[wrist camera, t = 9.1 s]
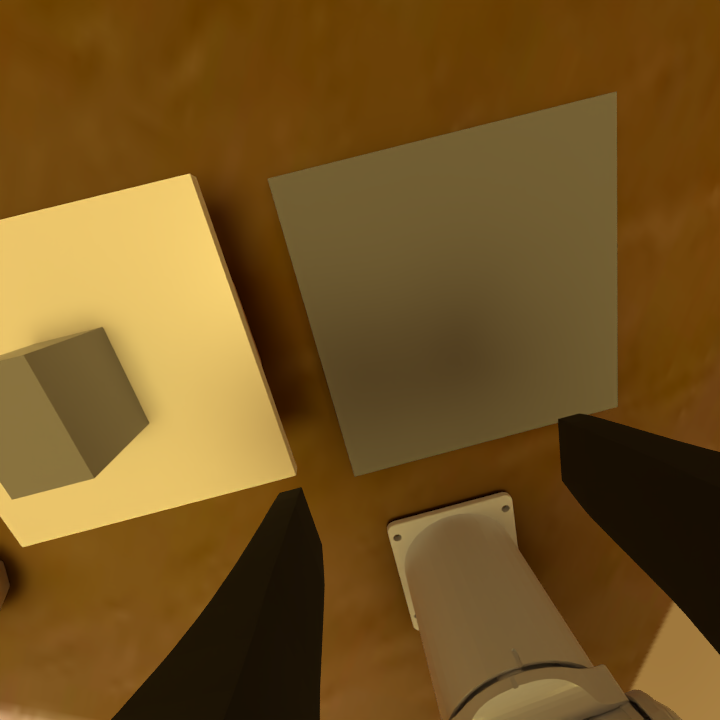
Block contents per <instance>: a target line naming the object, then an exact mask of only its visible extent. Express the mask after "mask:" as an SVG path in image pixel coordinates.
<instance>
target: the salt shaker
mask: <svg viewBox="0 0 720 720" xmlns="http://www.w3.org/2000/svg"><path fill="white" fill-rule="evenodd" d="M9 587H10V583H9V580H8V576H7V573H6V569H5V566H4V562H3V561H1V560H0V610H1V607H2V605H3V602H4V600H5V597H6V595H7V592H8V590H9Z"/></svg>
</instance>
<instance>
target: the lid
mask: <svg viewBox="0 0 720 720" xmlns="http://www.w3.org/2000/svg"><path fill="white" fill-rule="evenodd" d="M296 471H297V466H296V463H295V460H294V457H293V454H292V452H291V449H290V446H289V443H288V440H287V437H286V434H285V431H284V429H283V426H282V423H281V420H280V417H279V414H278V411H277V408H276V405H275V403H274V400H273V397H272V394H271V391H270V388H269V385H268V382H267V380H266V377H265V374H264V371H263V368H262V365H261V362H260V359H259V357H258V354H257V351H256V348H255V345H254V342H253V339H252V336H251V334H250V331H249V328H248V325H247V322H246V319H245V316H244V313H243V311H242V308H241V305H240V302H239V299H238V296H237V293H236V290H235V288H234V285H233V282H232V279H231V276H230V273H229V270H228V267H227V265H226V262H225V259H224V256H223V253H222V250H221V247H220V244H219V241H218V239H217V236H216V233H215V230H214V227H213V224H212V221H211V218H210V216H209V213H208V210H207V207H206V204H205V201H204V198H203V195H202V193H201V190H200V187H199V184H198V181H197V178H196V177H195V176H193V175H191V174H186V175H182V176H178V177H174V178H170V179H166V180H162V181H158V182H153V183H149V184H145V185H141V186H137V187H133V188H129V189H125V190H121V191H117V192H112V193H108V194H104V195H100V196H96V197H92V198H88V199H84V200H80V201H76V202H71V203H67V204H63V205H59V206H55V207H51V208H47V209H43V210H39V211H35V212H30V213H26V214H22V215H18V216H14V217H10V218H6V219H2V220H0V517H1V518H2V519H3V521H4V522H5V524H6V525H7V526H8V528H9V529H10V531H11V532H12V533H13V535H14V536H15V538H16V539H17V541H18V542H19V543H20V545H21V546H22V547H25V546H29V545H33V544H36V543H40V542H44V541H48V540H52V539H55V538H59V537H63V536H67V535H71V534H75V533H78V532H82V531H86V530H90V529H94V528H98V527H101V526H105V525H109V524H113V523H117V522H120V521H124V520H128V519H132V518H136V517H140V516H143V515H147V514H151V513H155V512H159V511H163V510H166V509H170V508H174V507H178V506H182V505H185V504H189V503H193V502H197V501H201V500H205V499H208V498H212V497H216V496H220V495H224V494H227V493H231V492H235V491H239V490H243V489H247V488H250V487H254V486H258V485H262V484H266V483H270V482H273V481H277V480H281V479H285V478H289V477H292V476H296Z"/></svg>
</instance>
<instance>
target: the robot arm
mask: <svg viewBox="0 0 720 720" xmlns="http://www.w3.org/2000/svg"><path fill="white" fill-rule="evenodd" d="M558 427H559V442H560V458H561V473H562V481H563V482H564V484H565V485H566V486H567V488H568V489H569V490H570V492H571V493H572V494H573V496H574V497H575V498H576V500H577V501H578V502H579V503H580V505H581V506H582V507H583V508H584V510H585V511H586V512H587V513H588V514H589V515H590V516H591V518H592V519H593V520H594V521H595V522H596V523H597V524H598V525H599V526H600V527H601V528H602V529H603V530H604V531H605V532H606V533H607V534H608V535H609V536H610V537H611V538H612V539H613V540H614V541H615V542H616V543H617V544H618V545H619V546H620V547H621V548H622V549H623V550H624V551H625V552H626V553H627V554H628V555H629V556H630V557H631V558H632V559H633V560H634V561H635V562H636V563H637V564H638V565H639V566H640V567H641V568H642V569H643V570H644V571H645V572H646V573H647V574H648V575H649V577H650V578H651V579H652V580H653V581H654V582H655V583H656V584H657V585H658V586H659V587H660V588H661V589H662V590H663V591H664V592H665V593H666V594H667V595H668V596H669V597H670V598H671V599H672V600H673V601H674V602H675V603H676V604H677V606H678V607H679V608H680V609H681V610H682V611H683V612H684V613H685V614H686V615H687V617H688V618H689V619H690V620H691V621H692V622H693V624H694V625H695V626H696V627H697V628H698V629H699V631H700V632H701V633H702V634H703V635H704V637H705V638H706V639H707V640H708V641H709V642H710V644H711V645H712V646H713V647H714V648H715V649H716V651H717V652H718V653H719V654H720V452H717V451H713V450H709V449H706V448H702V447H698V446H695V445H691V444H687V443H684V442H680V441H677V440H673V439H670V438H666V437H663V436H659V435H656V434H652V433H649V432H646V431H642V430H639V429H635V428H632V427H629V426H625V425H622V424H619V423H615V422H612V421H608V420H605V419H601V418H597V417H594V416H590V415H585V414H581V413H579V414H575V415H571V416H567V417H564V418H560V419H558ZM505 505H506V506H505ZM503 506H505V507H503ZM502 507H503V508H502ZM387 531H388V535H389V539H390V543H391V546H392V550H393V554H394V557H395V561H396V565H397V568H398V572H399V576H400V579H401V583H402V587H403V590H404V594H405V598H406V601H407V605H408V609H409V612H410V616H411V620H412V623H413V627H414V629H416V630H419V631H420V635H421V639H422V643H423V647H424V651H425V655H426V659H427V663H428V667H429V671H430V675H431V679H432V683H433V687H434V691H435V695H436V699H437V703H438V707H439V712H440V716H441V720H682V719H681V718H680V717H679V716H678V715H677V714H676V713H674V712H673V711H672V710H671V709H669V708H668V707H666V706H665V705H663V704H661V703H659V702H657V701H656V700H654V699H653V698H652V697H650V696H649V695H648V694H646V693H644V692H642V691H641V690H632V691H629V692H626V693H624V692H623V691H622V689H621V688H620V686H619V685H618V683H617V682H616V680H615V679H614V677H613V676H612V674H611V673H610V672H609V670H608V669H607V667H606V666H605V665H603V664H602V665H599V666H595V667H594V666H593V664H592V663H591V661H590V660H589V658H588V657H587V655H586V654H585V652H584V650H583V649H582V647H581V646H580V644H579V643H578V641H577V640H576V638H575V636H574V635H573V633H572V632H571V630H570V629H569V627H568V626H567V624H566V623H565V621H564V619H563V618H562V616H561V615H560V613H559V612H558V610H557V609H556V607H555V605H554V604H553V602H552V601H551V599H550V598H549V596H548V595H547V593H546V591H545V590H544V588H543V587H542V585H541V584H540V582H539V581H538V579H537V577H536V576H535V574H534V573H533V571H532V570H531V568H530V567H529V565H528V563H527V562H526V560H525V559H524V557H523V556H522V554H521V553H520V551H519V549H518V543H517V535H516V527H515V519H514V510H513V502H512V498H511V496H510V495H509V494H508V493H506V492H501V493H497V494H493V495H489V496H486V497H482V498H478V499H474V500H471V501H467V502H463V503H460V504H456V505H452V506H448V507H445V508H441V509H437V510H434V511H430V512H426V513H422V514H419V515H415V516H411V517H408V518H404V519H400V520H396V521H393V522H391V523H389V524H388V526H387ZM395 535H399V536H395ZM324 585H325V584H324V566H323V553H322V544H321V541H320V538H319V535H318V532H317V530H316V527H315V524H314V521H313V518H312V516H311V513H310V510H309V507H308V504H307V502H306V499H305V496H304V493H303V490H302V487H300V488H297V489H293V490H289V491H285V492H282V493H279V495H278V496H277V498H276V500H275V501H274V503H273V504H272V506H271V508H270V509H269V511H268V513H267V514H266V516H265V518H264V519H263V521H262V523H261V524H260V526H259V528H258V529H257V531H256V533H255V534H254V536H253V538H252V539H251V541H250V542H249V544H248V546H247V547H246V549H245V550H244V552H243V554H242V555H241V557H240V558H239V560H238V561H237V563H236V565H235V566H234V568H233V569H232V570H231V572H230V573H229V575H228V576H227V578H226V579H225V581H224V582H223V584H222V585H221V587H220V588H219V589H218V591H217V592H216V594H215V595H214V597H213V598H212V600H211V601H210V602H209V604H208V605H207V606H206V608H205V609H204V610H203V612H202V613H201V614H200V616H199V617H198V618H197V620H196V621H195V622H194V624H193V625H192V626H191V627H190V629H189V630H188V631H187V632H186V634H185V635H184V636H183V637H182V639H181V640H180V641H179V642H178V644H177V645H176V646H175V647H174V649H173V650H172V651H171V652H170V653H169V655H168V656H167V657H166V658H165V659H164V661H163V662H162V663H161V664H160V665H159V666H158V667H157V669H156V670H155V671H154V672H153V673H152V674H151V675H150V676H149V678H148V679H147V680H146V681H145V682H144V683H143V684H142V686H141V687H140V688H139V689H138V690H137V691H136V692H135V694H134V695H133V696H132V697H131V698H130V699H129V700H128V701H127V703H126V704H125V705H124V706H123V707H122V708H121V709H120V711H119V712H118V713H117V714H116V715H115V716H114V717H113V718H112V719H111V720H320V677H321V655H322V633H323V611H324Z"/></svg>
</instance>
